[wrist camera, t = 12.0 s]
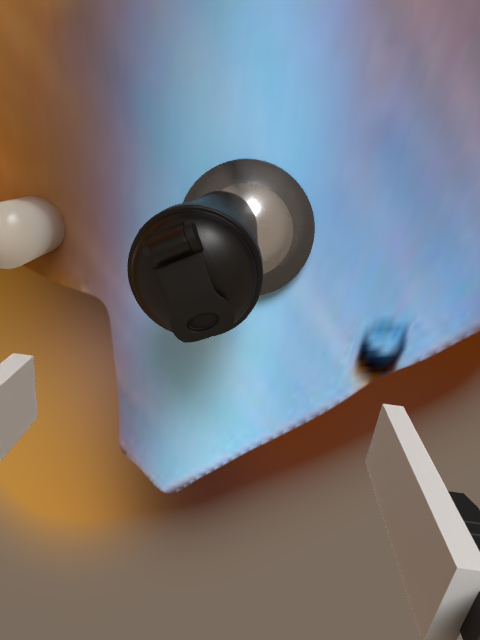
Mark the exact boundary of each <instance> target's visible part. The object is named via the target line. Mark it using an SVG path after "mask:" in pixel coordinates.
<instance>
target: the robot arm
mask: <svg viewBox="0 0 480 640" xmlns="http://www.w3.org/2000/svg"><path fill="white" fill-rule="evenodd" d="M37 418H38V413H37V399H36V384H35V371H34V356H30V355H23V354H15V353H13V354H12V355H10V356H9V357H8V358H7V359H6V360H4V361H3V362H2V363H1V364H0V462H1V460H2V459H3V458H4V457H5V456H6V454H7V453H8V452H9V451H10V450H11V449H12V447H13V446H14V445H15V444H16V442H17V441H18V440H19V439H20V438H21V437H22V435H23V434H24V433H25V432H26V431H27V429H28V428H29V427H30V426H31V425H32V424H33V422H34V421H35V420H36V419H37ZM365 463H366V466H367V469H368V473H369V475H370V479H371V482H372V485H373V489H374V492H375V495H376V498H377V501H378V504H379V508H380V511H381V514H382V517H383V520H384V524H385V527H386V530H387V533H388V536H389V539H390V543H391V545H392V549H393V552H394V555H395V558H396V562H397V565H398V568H399V571H400V574H401V577H402V581H403V584H404V587H405V590H406V593H407V596H408V600H409V603H410V606H411V609H412V612H413V615H414V619H415V622H416V625H417V628H418V631H419V634H420V638H421V640H456V639H457V638H458V636H459V634H460V633H461V635H462V638H463V640H480V510H479V508H478V507H477V506H476V505H475V504H474V503H473V502H472V501H471V500H470V499H469V498H468V497H467V496H466V495H465V494H463V493H456V492H449V491H447V489H446V487H445V485H444V483H443V481H442V479H441V477H440V475H439V474H438V472H437V470H436V468H435V466H434V464H433V462H432V460H431V458H430V457H429V455H428V453H427V451H426V449H425V447H424V445H423V443H422V441H421V440H420V438H419V436H418V434H417V432H416V430H415V428H414V426H413V424H412V422H411V421H410V419H409V417H408V415H407V413H406V411H405V409H404V407H402V406H394V405H388V404H383V405H382V408H381V411H380V415H379V418H378V421H377V425H376V428H375V431H374V435H373V438H372V441H371V445H370V448H369V451H368V455H367V458H366V461H365Z"/></svg>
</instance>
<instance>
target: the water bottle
mask: <svg viewBox="0 0 480 640" xmlns="http://www.w3.org/2000/svg"><path fill="white" fill-rule="evenodd" d="M128 278H129V283H130V287H131V290H132V292H133V295H134V297H135V299H136V301H137V302H138V304H139V306H140V307H141V308H142V310H143V311H144V312H145V313H146V314H147V315H148V316H149V317H150V318H151V319H152V320H153V321H154V322H156V323H157V324H158V325H160V326H161V327H163V328H165V329H167V330H169V331H171V332H173V333H174V335H175V336H176V337H177V338H178V339H179V340H181V341H183V342H195V341H199V340H202V339H206V338H209V337H211V336H216V335H219V334H222V333H225V332H227V331H229V330H231V329H233V328H234V327H236V326H237V325H239V324H240V323H241V322H242V321H243V320H245V319H246V318H247V316H248V315H249V313H250V312H251V311H252V309H253V308H254V306H255V304H256V302H257V300H258V298H259V295H260V292H261V288H262V283H263V260H262V255H261V251H260V248H259V246H258V235H257V221H256V217H255V214H254V212H253V210H252V208H251V207H250V206H249V204H248V203H247V202H246V201H245V200H244V199H243V198H241V197H240V196H238V195H236V194H234V193H231V192H227V191H214V192H210V193H207V194H205V195H203V196H201V197H199V198H197V199H195V200H193V201H191V202H189V203H182V204H178V205H174V206H172V207H169V208H167V209H165V210H163V211H162V212H160V213H158V214H157V215H155V216H154V217H152V218H151V219H150V220H149V221H147V222H146V223H145V224H144V225H143V227H142V228H141V229H140V230H139V232H138V234H137V236H136V237H135V239H134V241H133V244H132V246H131V249H130V253H129V258H128Z"/></svg>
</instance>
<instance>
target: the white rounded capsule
mask: <svg viewBox="0 0 480 640" xmlns="http://www.w3.org/2000/svg"><path fill="white" fill-rule="evenodd" d="M64 235H65V224H64V220H63V217H62V215H61V213H60V212H59V210H58V209H57V208H56V207H55V206H54V205H53V204H52V203H51V202H49V201H48V200H46V199H44V198H41V197H38V196H26V197H22V198H17V199H12V200H7V201H3V202H0V268H2V269H13V268H17V267H19V266H22V265H24V264H26V263H28V262H30V261H32V260H34V259H36V258H38V257H40V256H42V255H44V254H46V253H48V252H50V251H52V250H54V249H56V248H57V247H58V246H59V245H60V244H61V243H62V241H63V239H64Z"/></svg>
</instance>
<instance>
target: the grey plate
mask: <svg viewBox="0 0 480 640" xmlns="http://www.w3.org/2000/svg"><path fill="white" fill-rule="evenodd" d="M214 191H227V192H231V193H234V194H236V195H238V196H240V197H241V198H243V199H244V200H245V201H246V202H247V203H248V204H249V206H250V207H251V208H252V210H253V212H254V214H255V217H256V221H257V235H258V246H259V248H260V251H261V255H262V260H263V283H262V288H261V292H260V295H263V294H266V293H269V292H272V291H274V290H276V289H279V288H280V287H282V286H283V285H285V284H286V283H288V282H289V281H290V280H291V279H293V278H294V277H295V276H296V275H297V273H298V272H299V271H300V270H301V268H302V267H303V266H304V264H305V262H306V260H307V259H308V256H309V254H310V252H311V249H312V245H313V241H314V233H315V223H314V216H313V211H312V208H311V205H310V202H309V200H308V198H307V196H306V194H305V192H304V191H303V189H302V188H301V186H300V185H299V184H298V183H297V181H296V180H295V179H294V178H293V177H292V176H291V175H289V174H288V173H287V172H286V171H284V170H283V169H281V168H279V167H278V166H276V165H274V164H271V163H268V162H266V161H261V160H257V159H237V160H233V161H228V162H226V163H223V164H220V165H218V166H216V167H214V168H212V169H210V170H209V171H208V172H206V173H205V174H204V175H202V176H201V177H200V178H199V179H198V180H197V181H196V182H195V184H194V185H193V186H192V187H191V189H190V190H189V192H188V194H187V195H186V197H185V200H184V202H183V203H189V202H191V201H193V200H195V199H197V198H199V197H201V196H203V195H205V194H207V193H210V192H214Z"/></svg>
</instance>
